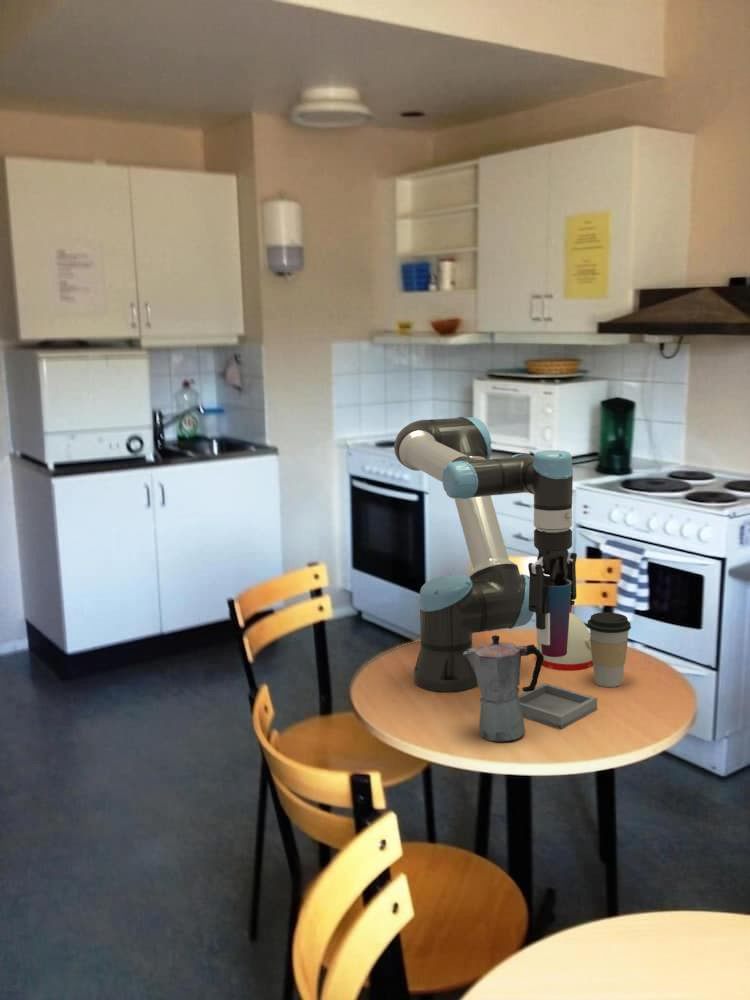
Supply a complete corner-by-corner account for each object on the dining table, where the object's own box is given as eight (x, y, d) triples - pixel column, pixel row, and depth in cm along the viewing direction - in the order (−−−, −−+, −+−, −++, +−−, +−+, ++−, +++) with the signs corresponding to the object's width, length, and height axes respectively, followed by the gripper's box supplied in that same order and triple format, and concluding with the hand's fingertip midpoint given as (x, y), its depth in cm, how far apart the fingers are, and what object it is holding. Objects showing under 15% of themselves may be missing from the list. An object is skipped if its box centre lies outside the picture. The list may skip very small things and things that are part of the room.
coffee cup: (631, 691, 203) (633, 624, 200) (586, 689, 204) (587, 623, 202) (628, 675, 212) (629, 611, 209) (585, 673, 213) (586, 610, 211)
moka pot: (463, 723, 189) (461, 628, 185) (539, 722, 188) (539, 627, 184) (465, 744, 179) (464, 644, 176) (546, 743, 179) (546, 642, 175)
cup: (544, 645, 196) (544, 576, 193) (575, 650, 192) (576, 579, 189) (532, 655, 190) (532, 584, 187) (564, 660, 186) (564, 587, 184)
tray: (508, 712, 194) (508, 700, 193) (545, 693, 203) (545, 683, 202) (561, 729, 184) (561, 717, 184) (597, 709, 193) (597, 698, 193)
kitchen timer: (601, 655, 226) (602, 595, 223) (588, 674, 214) (589, 610, 211) (545, 648, 232) (545, 589, 229) (529, 666, 219) (529, 605, 217)
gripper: (540, 539, 177) (540, 655, 181) (595, 522, 191) (594, 631, 195) (508, 534, 183) (509, 647, 187) (564, 518, 196) (564, 624, 200)
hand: (552, 639), depth 191 cm, fingers closed on cup, 6 cm apart
